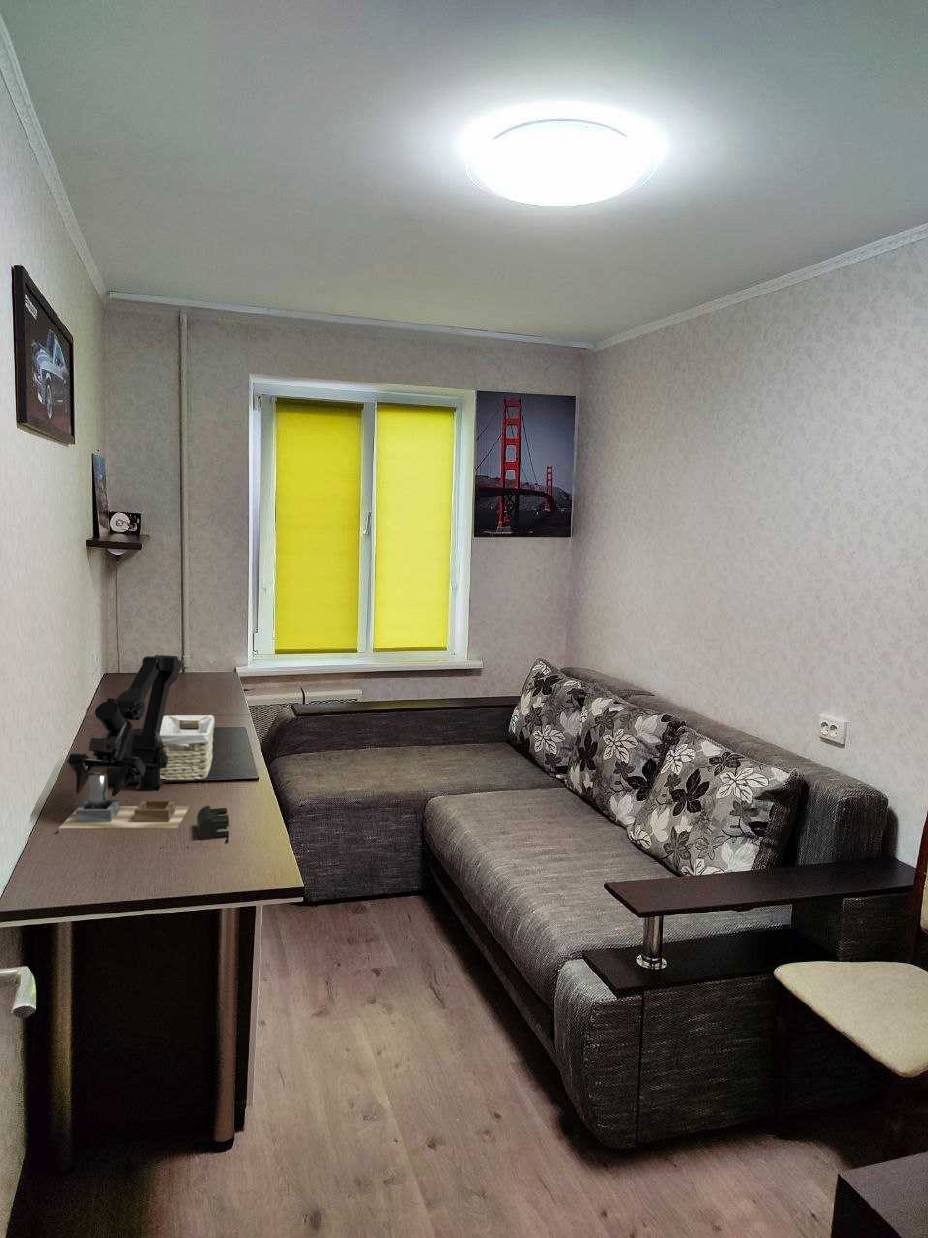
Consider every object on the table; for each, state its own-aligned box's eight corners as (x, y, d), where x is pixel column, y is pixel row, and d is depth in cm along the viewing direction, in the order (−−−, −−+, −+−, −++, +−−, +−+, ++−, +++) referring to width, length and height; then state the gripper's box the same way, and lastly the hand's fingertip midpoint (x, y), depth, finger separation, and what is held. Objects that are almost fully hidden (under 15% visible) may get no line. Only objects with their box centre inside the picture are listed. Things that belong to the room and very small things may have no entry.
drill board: (79, 812, 233) (79, 795, 232) (189, 811, 236) (189, 795, 235) (58, 834, 217) (58, 816, 216) (177, 833, 220) (177, 816, 220)
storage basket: (208, 781, 263) (209, 732, 261) (151, 782, 260) (150, 733, 258) (215, 759, 286) (215, 714, 284) (162, 760, 283) (162, 714, 281)
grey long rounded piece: (97, 812, 228) (97, 771, 227) (111, 815, 227) (111, 773, 226) (85, 818, 224) (84, 775, 223) (99, 820, 223) (98, 778, 221)
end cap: (196, 832, 222) (196, 806, 221) (226, 830, 224) (226, 804, 223) (198, 847, 212) (198, 819, 212) (228, 844, 215) (229, 817, 214)
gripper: (70, 722, 228) (46, 776, 218) (140, 726, 226) (119, 781, 216) (86, 744, 236) (64, 797, 227) (154, 748, 235) (135, 802, 225)
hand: (95, 794), depth 223 cm, fingers open, 9 cm apart
